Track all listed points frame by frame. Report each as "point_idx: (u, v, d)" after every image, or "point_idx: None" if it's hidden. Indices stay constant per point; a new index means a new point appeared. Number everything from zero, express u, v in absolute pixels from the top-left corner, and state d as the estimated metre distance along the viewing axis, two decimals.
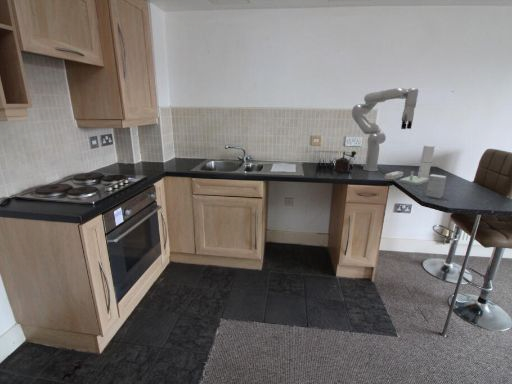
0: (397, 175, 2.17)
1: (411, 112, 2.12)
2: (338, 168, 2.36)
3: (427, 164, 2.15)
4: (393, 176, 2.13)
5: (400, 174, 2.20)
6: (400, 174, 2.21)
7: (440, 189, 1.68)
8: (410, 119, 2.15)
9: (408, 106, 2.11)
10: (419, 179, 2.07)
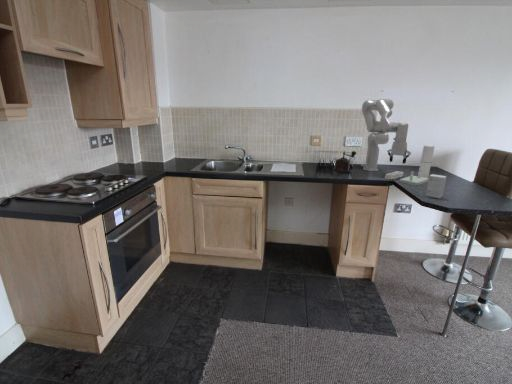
0: (397, 175, 2.17)
1: None
2: (338, 168, 2.36)
3: (427, 164, 2.15)
4: (393, 176, 2.13)
5: (400, 174, 2.20)
6: (400, 174, 2.21)
7: (440, 189, 1.68)
8: None
9: (405, 141, 2.09)
10: (419, 179, 2.07)
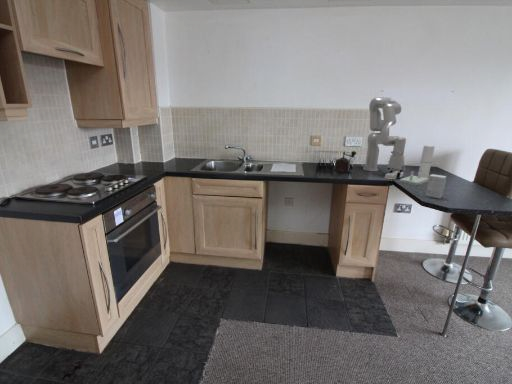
0: None
1: None
2: (338, 168, 2.36)
3: (427, 164, 2.15)
4: (393, 176, 2.13)
5: (400, 174, 2.20)
6: (400, 174, 2.21)
7: (440, 189, 1.68)
8: None
9: None
10: (419, 179, 2.07)
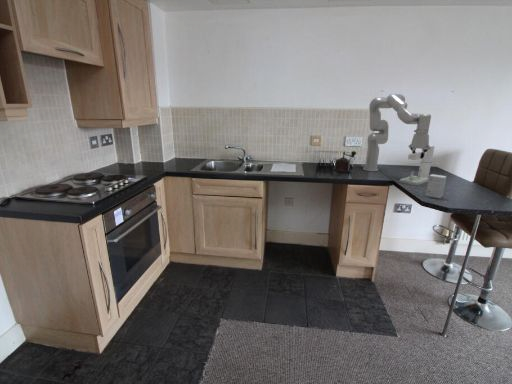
0: None
1: None
2: (338, 168, 2.36)
3: (427, 164, 2.15)
4: (417, 156, 1.98)
5: (424, 155, 2.05)
6: (424, 154, 2.05)
7: (440, 189, 1.68)
8: None
9: (427, 133, 1.97)
10: (419, 179, 2.07)
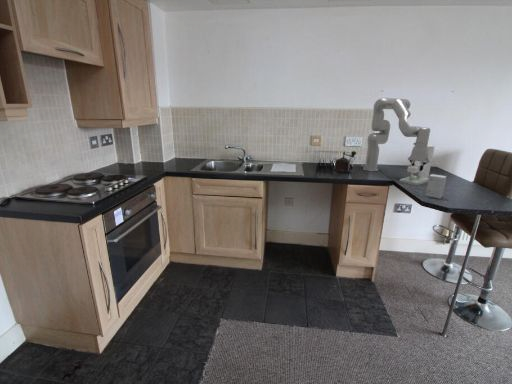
0: None
1: None
2: (338, 168, 2.36)
3: (427, 164, 2.15)
4: (416, 169, 1.99)
5: (423, 167, 2.07)
6: (423, 166, 2.07)
7: (440, 189, 1.68)
8: None
9: (426, 146, 1.99)
10: (419, 179, 2.07)
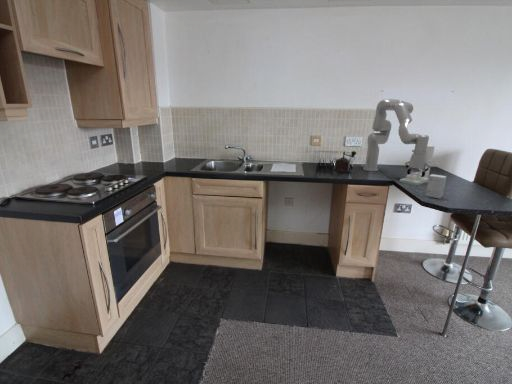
0: (418, 176, 2.06)
1: None
2: (338, 168, 2.36)
3: None
4: (414, 177, 2.01)
5: None
6: None
7: (440, 189, 1.68)
8: None
9: (425, 153, 2.01)
10: (419, 179, 2.07)
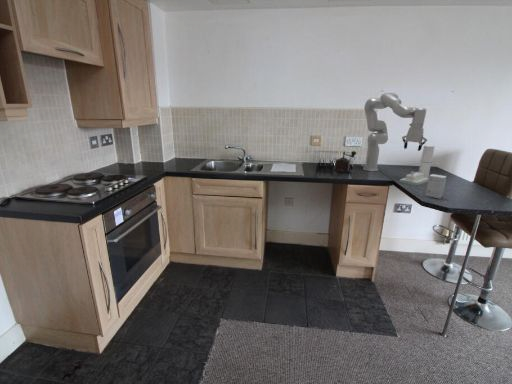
0: (418, 176, 2.06)
1: None
2: (338, 168, 2.36)
3: (427, 164, 2.15)
4: (414, 177, 2.01)
5: (421, 175, 2.09)
6: (421, 175, 2.09)
7: (440, 189, 1.68)
8: None
9: (422, 127, 2.01)
10: (419, 179, 2.07)
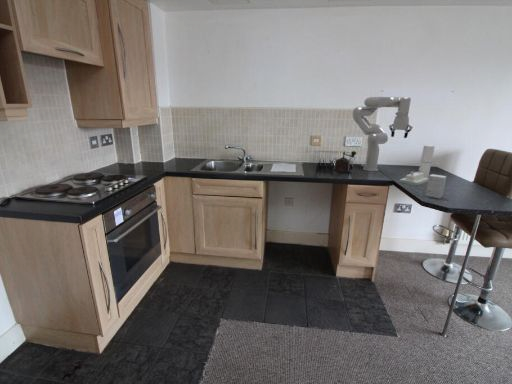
0: (418, 176, 2.06)
1: None
2: (338, 168, 2.36)
3: (427, 164, 2.15)
4: (414, 177, 2.01)
5: (421, 175, 2.09)
6: (421, 175, 2.09)
7: (440, 189, 1.68)
8: None
9: (407, 115, 2.11)
10: (419, 179, 2.07)
